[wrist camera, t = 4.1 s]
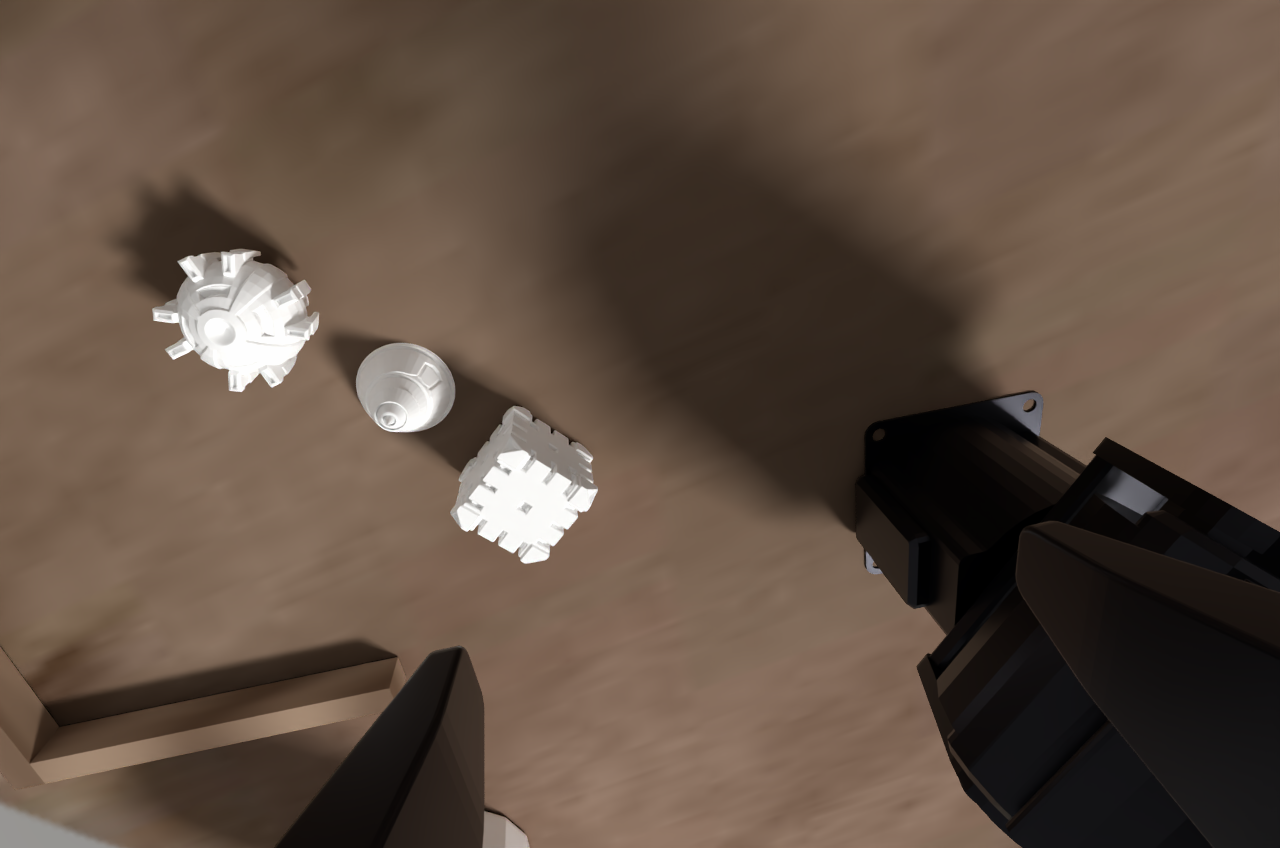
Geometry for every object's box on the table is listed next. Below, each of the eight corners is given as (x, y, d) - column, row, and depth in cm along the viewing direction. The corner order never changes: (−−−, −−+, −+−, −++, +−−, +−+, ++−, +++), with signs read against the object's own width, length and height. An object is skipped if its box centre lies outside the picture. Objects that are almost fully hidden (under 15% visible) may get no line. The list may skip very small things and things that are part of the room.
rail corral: (105, -73, 15) (61, -93, 14) (406, 677, 25) (398, 709, 23) (-517, 15, 14) (-629, 3, 13) (44, 752, 24) (14, 790, 23)
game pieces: (594, 445, 22) (601, 493, 19) (536, 516, 23) (534, 573, 20) (239, 216, 18) (180, 233, 15) (184, 312, 19) (118, 346, 16)
